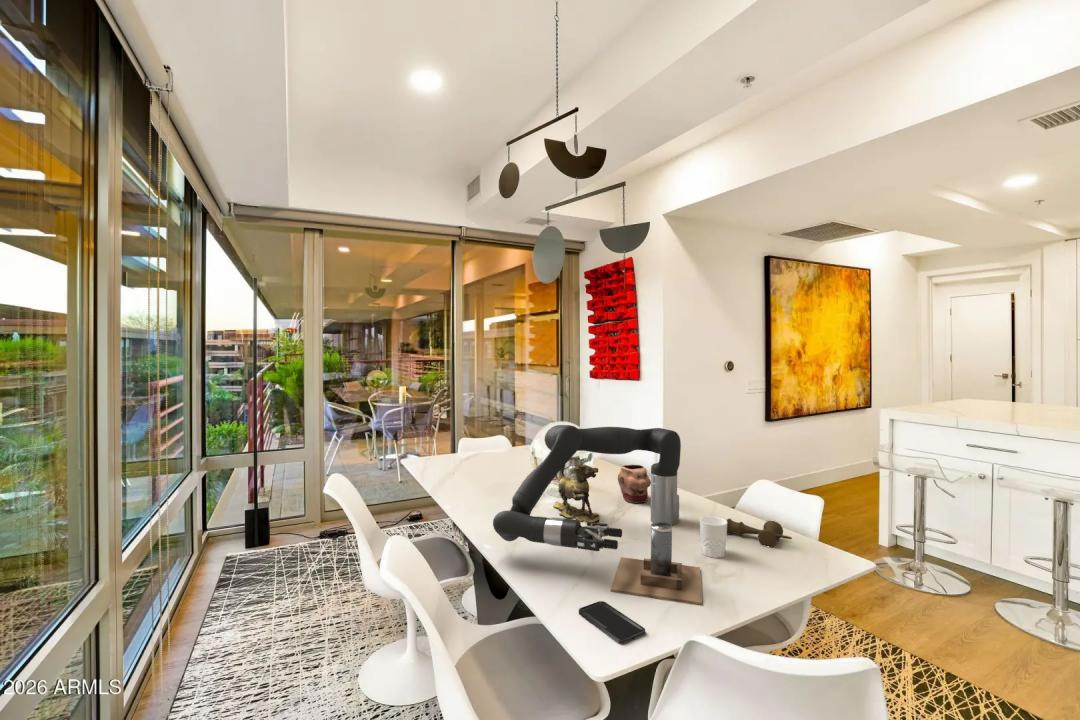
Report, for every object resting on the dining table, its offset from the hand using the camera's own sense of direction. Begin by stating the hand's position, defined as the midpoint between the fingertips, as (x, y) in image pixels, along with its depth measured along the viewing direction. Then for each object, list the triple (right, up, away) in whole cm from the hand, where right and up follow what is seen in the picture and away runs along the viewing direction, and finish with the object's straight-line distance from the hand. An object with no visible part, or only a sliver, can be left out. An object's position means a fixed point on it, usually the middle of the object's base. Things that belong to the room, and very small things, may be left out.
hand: (619, 538), depth 130 cm
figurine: (-9, -9, +50) cm, 52 cm away
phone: (-6, -11, -23) cm, 26 cm away
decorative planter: (+17, -9, +68) cm, 71 cm away
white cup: (+31, -10, +14) cm, 35 cm away
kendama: (+49, -10, +25) cm, 56 cm away
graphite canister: (+10, -9, -3) cm, 14 cm away
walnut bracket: (+10, -10, -3) cm, 15 cm away
